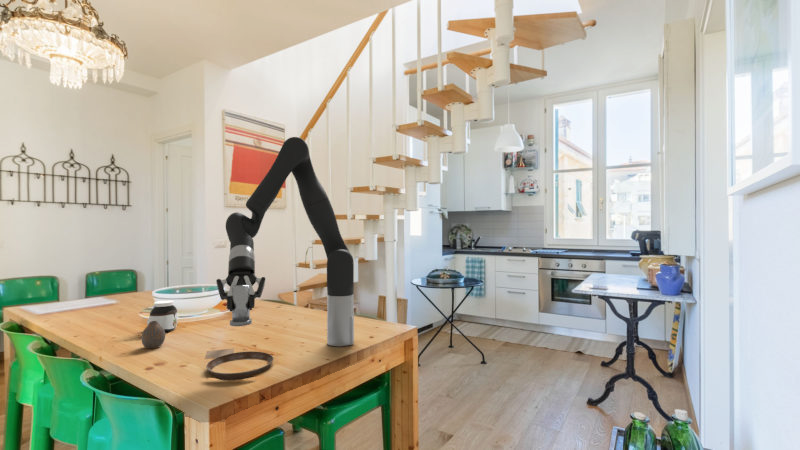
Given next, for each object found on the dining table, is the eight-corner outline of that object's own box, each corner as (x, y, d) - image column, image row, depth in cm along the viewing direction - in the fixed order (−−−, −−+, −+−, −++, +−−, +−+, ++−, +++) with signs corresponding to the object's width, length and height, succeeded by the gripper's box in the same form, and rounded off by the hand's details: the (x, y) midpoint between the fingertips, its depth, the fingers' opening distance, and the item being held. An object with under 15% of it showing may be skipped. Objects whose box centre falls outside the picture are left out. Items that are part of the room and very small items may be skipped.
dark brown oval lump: (169, 345, 134) (169, 320, 134) (149, 351, 127) (149, 324, 127) (157, 343, 136) (157, 318, 137) (136, 348, 130) (136, 322, 130)
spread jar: (165, 334, 148) (165, 304, 148) (136, 334, 148) (136, 304, 148) (183, 326, 160) (183, 298, 160) (156, 326, 160) (156, 298, 160)
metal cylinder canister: (254, 321, 113) (254, 283, 113) (247, 326, 107) (248, 286, 107) (234, 321, 112) (234, 284, 112) (226, 326, 107) (226, 286, 107)
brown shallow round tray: (280, 374, 107) (280, 364, 107) (210, 389, 97) (210, 377, 97) (265, 357, 122) (265, 347, 122) (202, 368, 112) (202, 357, 112)
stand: (233, 351, 127) (233, 348, 127) (233, 358, 119) (233, 355, 119) (207, 354, 124) (207, 351, 124) (204, 362, 116) (204, 358, 116)
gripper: (215, 255, 114) (212, 303, 103) (266, 254, 119) (268, 299, 108) (217, 271, 119) (213, 318, 108) (265, 269, 124) (267, 314, 113)
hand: (240, 308), depth 108 cm, fingers closed on metal cylinder canister, 4 cm apart
